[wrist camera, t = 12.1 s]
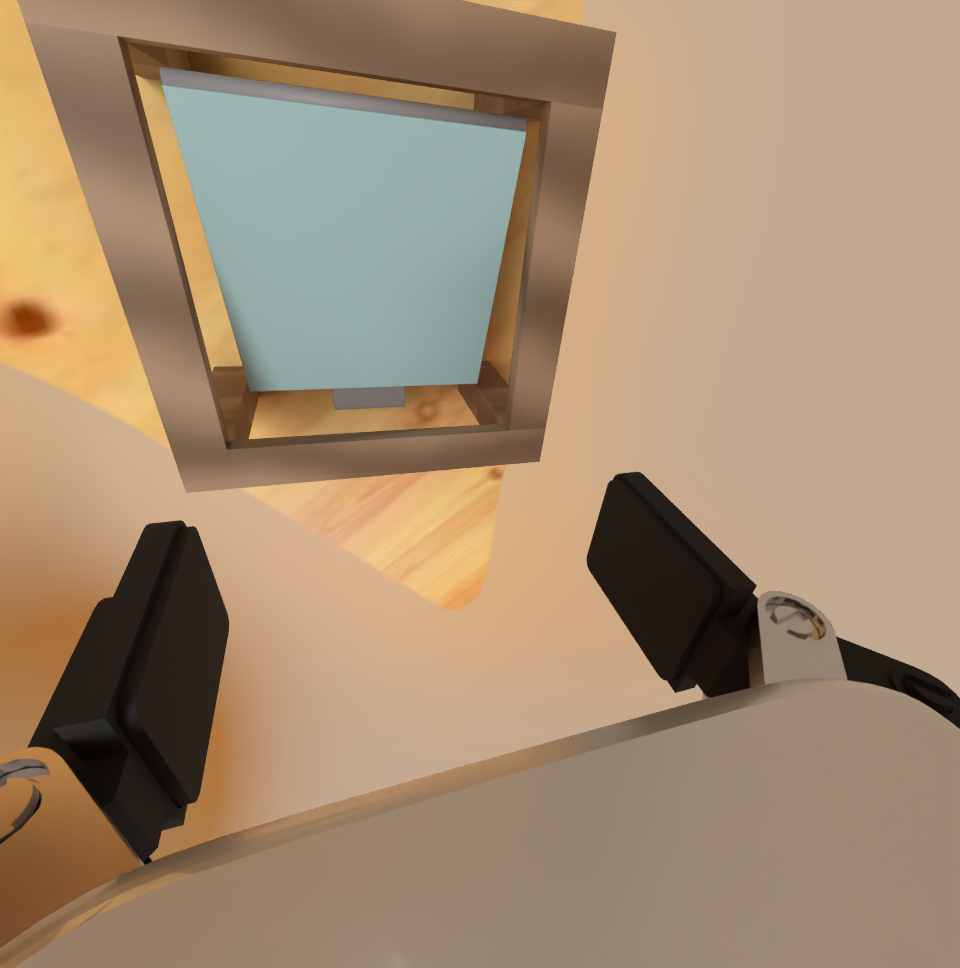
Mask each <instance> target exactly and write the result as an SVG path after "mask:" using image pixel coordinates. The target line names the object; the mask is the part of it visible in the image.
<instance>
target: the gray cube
mask: <svg viewBox="0 0 960 968" xmlns="http://www.w3.org/2000/svg"><path fill="white" fill-rule="evenodd" d="M333 398H334V407H335V410H340V409H361V408H382V407H403V406H405V388H404V386H394V387H366V388H338V389H333Z"/></svg>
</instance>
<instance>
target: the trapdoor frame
mask: <svg viewBox="0 0 960 968" xmlns="http://www.w3.org/2000/svg"><path fill="white" fill-rule="evenodd" d="M18 3H19V6H20V9H21V12H22V15H23V18H24V21H25V24H26V26H27V29H28V32H29V35H30V38H31V41H32V44H33V47H34V50H35V53H36V56H37V59H38V61H39V64H40V67H41V70H42V73H43V76H44V79H45V82H46V85H47V88H48V91H49V94H50V96H51V99H52V102H53V105H54V108H55V111H56V114H57V117H58V120H59V123H60V126H61V129H62V131H63V134H64V137H65V140H66V143H67V146H68V149H69V152H70V155H71V158H72V161H73V164H74V166H75V169H76V172H77V175H78V178H79V181H80V184H81V187H82V190H83V193H84V196H85V199H86V201H87V204H88V207H89V210H90V213H91V216H92V219H93V222H94V225H95V228H96V231H97V234H98V236H99V239H100V242H101V245H102V248H103V251H104V254H105V257H106V260H107V263H108V266H109V269H110V272H111V274H112V277H113V280H114V283H115V286H116V289H117V292H118V295H119V298H120V301H121V304H122V307H123V309H124V312H125V315H126V318H127V321H128V324H129V327H130V330H131V333H132V336H133V339H134V342H135V344H136V347H137V350H138V353H139V356H140V359H141V362H142V365H143V368H144V371H145V374H146V377H147V379H148V382H149V385H150V388H151V391H152V394H153V397H154V400H155V403H156V406H157V409H158V412H159V414H160V417H161V420H162V423H163V426H164V429H165V432H166V435H167V438H168V441H169V444H170V447H171V449H172V452H173V455H174V458H175V461H176V464H177V467H178V470H179V473H180V476H181V478H182V482H183V484H184V487H185V490H186V493H189V492H200V491H211V490H222V489H234V488H246V487H257V486H268V485H279V484H291V483H302V482H313V481H325V480H336V479H347V478H359V477H370V476H381V475H392V474H404V473H415V472H426V471H438V470H449V469H460V468H472V467H483V466H494V465H505V464H516V463H528V462H539V461H540V455H541V450H542V445H543V439H544V433H545V428H546V422H547V416H548V411H549V405H550V400H551V394H552V389H553V383H554V378H555V372H556V366H557V361H558V355H559V349H560V344H561V339H562V332H563V327H564V322H565V316H566V310H567V305H568V300H569V294H570V288H571V282H572V277H573V272H574V266H575V260H576V255H577V249H578V244H579V238H580V233H581V227H582V221H583V216H584V210H585V205H586V199H587V194H588V188H589V182H590V177H591V171H592V166H593V159H594V154H595V149H596V143H597V138H598V132H599V127H600V121H601V116H602V110H603V104H604V99H605V93H606V88H607V82H608V76H609V71H610V65H611V59H612V54H613V49H614V43H615V37H616V32H611V31H607V30H602V29H597V28H592V27H587V26H582V25H577V24H573V23H568V22H563V21H558V20H553V19H548V18H544V17H539V16H534V15H529V14H524V13H519V12H515V11H510V10H505V9H500V8H495V7H490V6H486V5H481V4H476V3H471V2H466V1H461V0H18ZM187 51H191V52H198V53H205V54H211V55H218V56H225V57H232V58H238V59H245V60H252V61H258V62H265V63H272V64H278V65H285V66H292V67H299V68H305V69H312V70H319V71H325V72H332V73H339V74H346V75H352V76H359V77H366V78H372V79H379V80H386V81H392V82H399V83H406V84H413V85H419V86H426V87H433V88H439V89H446V90H453V91H459V92H466V93H473V94H475V102H474V110H476V111H483V112H490V113H498V114H505V115H512V116H519V117H525V118H526V122H527V123H528V122H534V121H540V120H541V122H540V131H539V139H538V147H537V155H536V163H535V172H534V180H533V188H532V196H531V205H530V213H529V221H528V229H527V237H526V246H525V254H524V262H523V270H522V279H521V287H520V295H519V303H518V311H517V320H516V328H515V336H514V344H513V353H512V361H511V369H510V377H509V385H508V384H507V383H506V382H505V381H504V380H503V378H502V377H501V376H500V375H499V374H498V373H497V371H496V370H495V369H494V368H493V367H492V366H491V364H490V363H489V362H488V361H482V362H481V367H480V372H479V377H478V382H477V384H458V390H459V392H460V394H461V395H462V397H463V398H464V400H465V402H466V403H467V405H468V407H469V408H470V410H471V411H472V413H473V415H474V416H475V418H476V419H477V421H478V423H479V424H480V425H473V426H457V427H441V428H425V429H409V430H393V431H377V432H360V433H344V434H328V435H312V436H296V437H280V438H263V439H249V435H250V431H251V427H252V423H253V418H254V414H255V410H256V406H257V402H258V393H257V391H253V392H250V389H249V385H248V382H247V378H246V375H245V371H244V368H243V367H214V369H213V371H211V368H210V364H209V360H208V356H207V352H206V348H205V344H204V340H203V337H202V333H201V329H200V325H199V321H198V317H197V313H196V309H195V306H194V302H193V298H192V294H191V290H190V286H189V282H188V278H187V274H186V271H185V267H184V263H183V259H182V255H181V251H180V247H179V243H178V240H177V236H176V232H175V228H174V224H173V220H172V216H171V212H170V209H169V205H168V201H167V197H166V193H165V189H164V185H163V181H162V178H161V174H160V170H159V166H158V162H157V158H156V154H155V150H154V147H153V143H152V139H151V135H150V131H149V127H148V123H147V119H146V116H145V112H144V108H143V104H142V100H141V96H140V92H139V88H138V85H137V81H136V77H135V74H136V75H138V76H140V77H143V78H151V79H158V80H161V77H160V67H166V68H173V69H180V70H187V71H191V66H190V62H189V57H188V52H187Z"/></svg>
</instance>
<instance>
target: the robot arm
mask: <svg viewBox="0 0 960 968" xmlns="http://www.w3.org/2000/svg"><path fill="white" fill-rule="evenodd" d="M587 565H588V568H589V570H590V572H591V574H592V575H593V576H594V578H595V579H596V581H597V583H598V584H599V586H600V587H601V589H602V590H603V592H604V593H605V595H606V596H607V598H608V599H609V601H610V602H611V604H612V605H613V607H614V608H615V610H616V611H617V613H618V614H619V616H620V618H621V619H622V621H623V622H624V624H625V625H626V627H627V628H628V630H629V631H630V633H631V634H632V636H633V637H634V639H635V640H636V642H637V643H638V645H639V646H640V648H641V649H642V651H643V652H644V654H645V656H646V657H647V659H648V660H649V662H650V663H651V665H652V666H653V668H654V669H655V671H656V672H657V674H658V675H659V676H660V677H661V678H662V679H663V680H667V681H668V683H669V684H670V686H671V687H672V689H673V690H674V691H675V693H676V692H680V691H684V690H687V689H691V688H695V686H696V684H698V686H699V687H700V689H701V690H702V691H703V700H701V701H697V702H693V703H689V704H686V705H682V706H678V707H675V708H671V709H668V710H664V711H660V712H656V713H653V714H649V715H645V716H642V717H639V718H635V719H631V720H627V721H624V722H620V723H616V724H613V725H609V726H606V727H602V728H598V729H595V730H591V731H587V732H584V733H580V734H576V735H573V736H569V737H566V738H562V739H558V740H555V741H551V742H548V743H544V744H541V745H537V746H533V747H530V748H526V749H523V750H519V751H516V752H512V753H509V754H505V755H501V756H498V757H494V758H491V759H487V760H484V761H480V762H476V763H473V764H469V765H465V766H462V767H458V768H455V769H452V770H448V771H444V772H441V773H437V774H434V775H430V776H427V777H423V778H420V779H416V780H413V781H409V782H406V783H402V784H399V785H396V786H392V787H388V788H385V789H381V790H377V791H374V792H370V793H367V794H363V795H360V796H356V797H353V798H350V799H346V800H342V801H339V802H335V803H332V804H328V805H325V806H321V807H318V808H315V809H311V810H308V811H305V812H302V813H298V814H295V815H292V816H289V817H285V818H282V819H278V820H275V821H272V822H269V823H265V824H262V825H258V826H255V827H252V828H249V829H245V830H242V831H239V832H235V833H232V834H229V835H226V836H222V837H219V838H216V839H214V840H211V841H208V842H205V843H202V844H199V845H196V846H194V847H191V848H188V849H185V850H182V851H179V852H176V853H173V854H171V855H168V856H165V857H162V858H161V859H158V860H156V861H154V860H153V858H152V857H151V856H150V855H151V854H152V853H153V852H154V851H155V850H156V849H157V848H158V844H159V839H160V835H161V831H163V830H166V829H170V828H174V827H177V826H181V825H183V824H184V818H185V813H186V809H187V804H190V803H194V802H196V801H197V799H198V796H199V793H200V789H201V784H202V778H203V773H204V767H205V761H206V755H207V750H208V745H209V739H210V733H211V728H212V722H213V717H214V711H215V705H216V699H217V694H218V688H219V683H220V677H221V672H222V666H223V661H224V655H225V649H226V643H227V638H228V632H229V619H228V614H227V611H226V608H225V606H224V603H223V600H222V597H221V595H220V591H219V589H218V586H217V583H216V580H215V578H214V575H213V572H212V569H211V566H210V564H209V561H208V558H207V555H206V553H205V550H204V547H203V544H202V541H201V539H200V536H199V533H198V531H197V529H196V527H194V526H192V527H187V526H186V525H185V523H184V522H183V521H181V520H180V521H170V522H162V523H152V524H148V525H146V526H145V528H144V530H143V532H142V534H141V536H140V539H139V541H138V544H137V545H136V548H135V550H134V552H133V554H132V556H131V559H130V561H129V563H128V566H127V567H126V570H125V572H124V574H123V576H122V579H121V581H120V583H119V585H118V587H117V590H116V592H115V594H114V596H113V597H110V598H104V599H103V600H101V601H100V602H99V603H98V604H97V606H96V607H95V609H94V610H93V613H92V615H91V617H90V619H89V621H88V623H87V625H86V627H85V629H84V631H83V634H82V635H81V637H80V639H79V642H78V644H77V646H76V648H75V650H74V652H73V654H72V656H71V658H70V661H69V663H68V665H67V666H66V669H65V671H64V673H63V675H62V677H61V679H60V681H59V683H58V685H57V687H56V689H55V692H54V693H53V696H52V698H51V700H50V702H49V704H48V706H47V708H46V710H45V712H44V715H43V717H42V718H41V721H40V723H39V725H38V727H37V729H36V731H35V733H34V735H33V737H32V739H31V741H30V744H29V745H28V747H27V748H23V749H17V750H14V751H11V752H8V753H6V754H3V755H1V756H0V968H960V698H959V697H958V696H957V694H956V693H955V692H953V691H952V690H951V689H950V688H949V687H948V686H947V685H945V684H944V683H943V682H942V681H940V680H939V679H937V678H935V677H933V676H932V675H930V674H928V673H926V672H924V671H922V670H920V669H918V668H916V667H913V666H910V665H908V664H906V663H903V662H900V661H898V660H895V659H892V658H890V657H888V656H885V655H882V654H880V653H877V652H875V651H872V650H870V649H867V648H864V647H862V646H859V645H856V644H854V643H852V642H849V641H846V640H844V639H841V638H839V637H836V635H835V631H834V629H833V627H832V624H831V623H830V621H829V620H828V619H827V617H826V616H825V615H824V614H823V613H822V612H821V611H820V610H818V609H817V608H816V607H815V606H814V605H812V604H810V603H809V602H807V601H805V600H804V599H801V598H799V597H797V596H794V595H792V594H788V593H784V592H780V591H770V592H766V593H763V594H762V595H761V596H760V597H759V598H757V597H756V596H755V595H754V594H753V591H754V589H755V587H756V584H755V583H754V582H753V581H751V580H750V579H749V578H748V577H747V576H746V575H745V574H744V573H743V572H742V571H741V570H740V569H739V568H738V567H737V566H736V565H735V564H734V563H733V562H732V561H731V560H730V559H729V558H728V557H727V556H726V555H725V554H724V553H723V552H722V551H721V550H720V549H719V548H718V547H717V546H716V545H715V544H714V543H712V541H710V539H709V538H707V536H706V535H704V534H703V533H702V532H701V531H700V530H699V529H698V528H697V527H696V526H695V525H694V524H693V523H692V522H691V521H690V520H689V519H688V518H687V517H686V516H685V515H684V514H683V513H682V512H681V511H680V510H679V509H678V508H677V507H676V506H675V505H674V504H673V503H672V502H671V501H670V500H669V499H668V498H667V497H666V496H665V495H664V494H663V493H662V492H661V491H660V490H659V489H657V487H655V486H654V485H653V484H652V483H651V482H650V481H649V480H648V479H647V478H646V477H645V476H644V475H643V474H642V473H640V472H631V473H622V474H617V475H616V476H615V477H614V479H613V480H612V481H610V482H609V483H608V486H607V489H606V493H605V496H604V500H603V503H602V507H601V510H600V513H599V517H598V520H597V524H596V527H595V531H594V534H593V537H592V541H591V544H590V548H589V551H588V555H587Z"/></svg>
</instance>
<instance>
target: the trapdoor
mask: <svg viewBox="0 0 960 968" xmlns="http://www.w3.org/2000/svg"><path fill="white" fill-rule="evenodd" d="M160 77H161V81H162V87H163V91H164V94H165V98H166V101H167V105H168V108H169V112H170V115H171V119H172V122H173V126H174V129H175V132H176V136H177V139H178V143H179V146H180V150H181V153H182V157H183V160H184V164H185V167H186V171H187V174H188V177H189V181H190V184H191V188H192V191H193V195H194V198H195V202H196V205H197V209H198V212H199V216H200V219H201V222H202V226H203V229H204V233H205V236H206V240H207V243H208V247H209V250H210V254H211V257H212V261H213V264H214V268H215V271H216V274H217V278H218V281H219V285H220V288H221V292H222V295H223V299H224V302H225V306H226V309H227V313H228V316H229V319H230V323H231V326H232V330H233V333H234V337H235V340H236V344H237V347H238V351H239V354H240V358H241V361H242V364H243V368H244V371H245V375H246V378H247V382H248V385H249V389H250V392H253V391H281V390H309V389H338V388H366V387H394V386H423V385H451V384H477V382H478V377H479V372H480V367H481V361H482V356H483V351H484V346H485V341H486V336H487V331H488V326H489V321H490V316H491V311H492V305H493V300H494V295H495V290H496V285H497V280H498V275H499V270H500V265H501V260H502V255H503V249H504V244H505V239H506V234H507V229H508V224H509V219H510V214H511V209H512V204H513V199H514V193H515V188H516V183H517V178H518V173H519V168H520V163H521V158H522V153H523V148H524V143H525V137H526V126H527V122H526V118H525V117H519V116H512V115H505V114H498V113H490V112H483V111H476V110H469V109H462V108H454V107H447V106H440V105H433V104H425V103H418V102H411V101H404V100H397V99H389V98H382V97H375V96H368V95H361V94H353V93H346V92H339V91H332V90H324V89H317V88H310V87H303V86H296V85H288V84H281V83H274V82H267V81H260V80H252V79H245V78H238V77H231V76H224V75H216V74H209V73H202V72H195V71H187V70H180V69H173V68H166V67H160Z"/></svg>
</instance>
